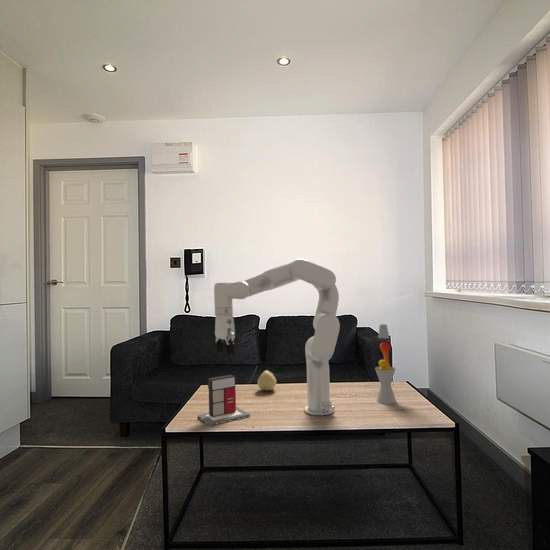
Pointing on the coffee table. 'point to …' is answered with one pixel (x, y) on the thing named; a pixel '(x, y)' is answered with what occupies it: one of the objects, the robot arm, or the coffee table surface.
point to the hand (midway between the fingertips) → (224, 352)
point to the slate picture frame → (223, 417)
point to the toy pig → (266, 381)
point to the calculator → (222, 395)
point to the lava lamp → (385, 371)
